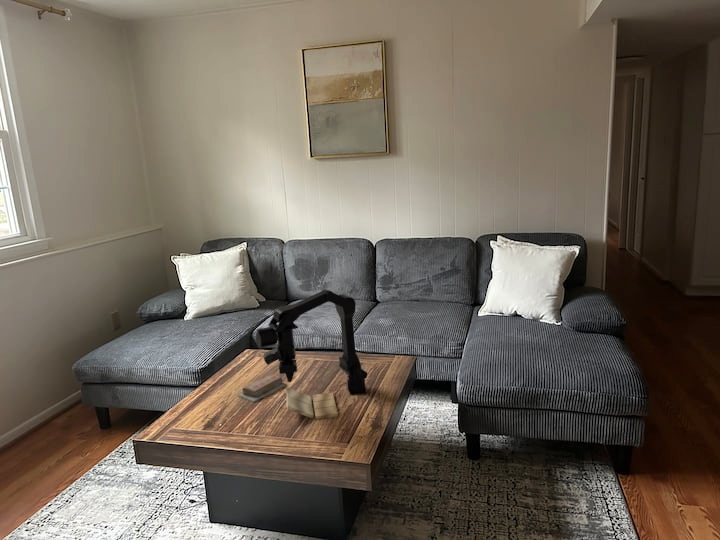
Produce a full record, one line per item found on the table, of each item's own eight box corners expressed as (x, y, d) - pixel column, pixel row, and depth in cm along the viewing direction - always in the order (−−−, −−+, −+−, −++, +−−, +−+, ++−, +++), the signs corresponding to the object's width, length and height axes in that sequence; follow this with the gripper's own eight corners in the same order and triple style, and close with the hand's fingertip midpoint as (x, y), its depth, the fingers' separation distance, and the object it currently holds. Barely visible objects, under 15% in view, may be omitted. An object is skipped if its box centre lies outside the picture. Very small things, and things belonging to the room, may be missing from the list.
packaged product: (269, 370, 226) (285, 375, 220) (270, 381, 227) (286, 386, 221) (236, 386, 212) (252, 392, 206) (237, 398, 213) (253, 403, 207)
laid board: (332, 395, 209) (332, 392, 208) (338, 416, 191) (337, 413, 191) (312, 397, 208) (312, 394, 207) (315, 419, 190) (315, 416, 190)
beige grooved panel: (309, 399, 206) (310, 396, 206) (312, 418, 191) (313, 415, 191) (285, 390, 204) (287, 387, 204) (286, 408, 189) (288, 405, 188)
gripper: (264, 336, 200) (268, 374, 203) (262, 353, 182) (267, 395, 185) (293, 332, 202) (297, 371, 205) (295, 349, 183) (299, 391, 187)
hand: (289, 381), depth 195 cm, fingers closed
